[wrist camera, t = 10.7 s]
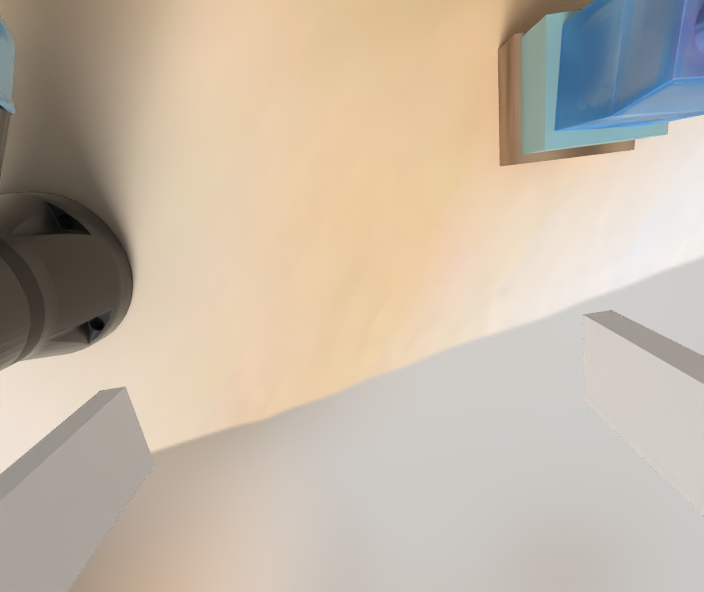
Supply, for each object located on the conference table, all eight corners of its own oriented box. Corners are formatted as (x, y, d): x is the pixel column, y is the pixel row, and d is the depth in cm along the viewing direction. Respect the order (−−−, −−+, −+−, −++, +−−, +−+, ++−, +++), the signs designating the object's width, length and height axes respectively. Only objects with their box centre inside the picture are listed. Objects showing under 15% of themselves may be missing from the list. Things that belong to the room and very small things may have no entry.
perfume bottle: (664, 17, 24) (938, -132, 13) (649, 125, 26) (879, 79, 14) (562, 25, 24) (741, -115, 13) (554, 131, 26) (706, 91, 15)
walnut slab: (498, 166, 34) (515, 164, 31) (496, 51, 32) (514, 33, 28) (603, 153, 34) (634, 149, 30) (609, 35, 32) (643, 15, 28)
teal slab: (521, 154, 30) (544, 150, 27) (521, 37, 28) (546, 14, 24) (628, 140, 30) (667, 134, 26) (636, 21, 28) (679, -6, 24)
